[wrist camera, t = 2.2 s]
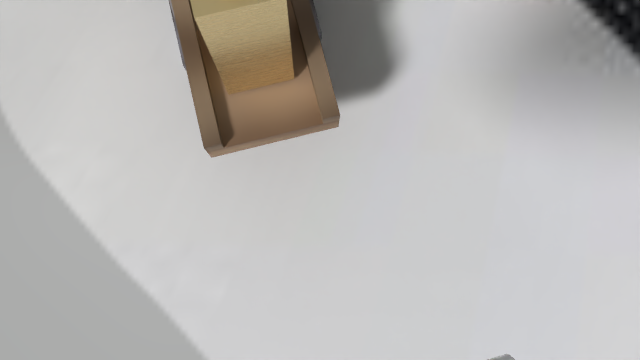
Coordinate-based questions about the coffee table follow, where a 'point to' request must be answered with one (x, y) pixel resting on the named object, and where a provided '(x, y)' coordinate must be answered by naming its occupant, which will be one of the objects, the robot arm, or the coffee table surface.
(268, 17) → the brass rider
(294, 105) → the balance beam
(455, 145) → the coffee table surface
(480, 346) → the coffee table surface
